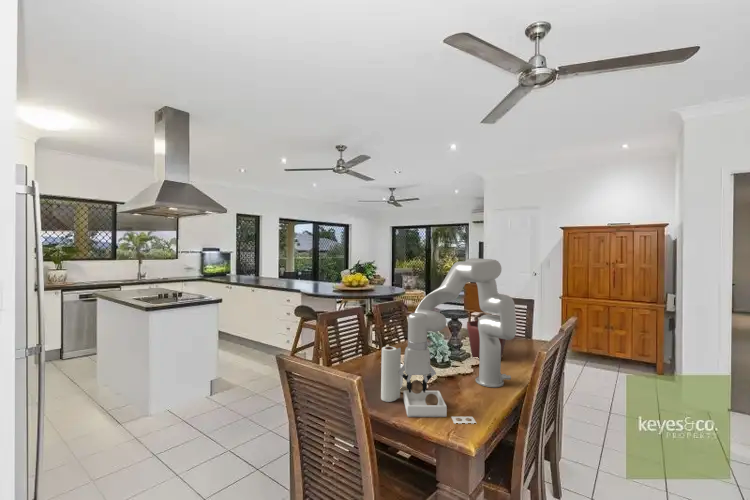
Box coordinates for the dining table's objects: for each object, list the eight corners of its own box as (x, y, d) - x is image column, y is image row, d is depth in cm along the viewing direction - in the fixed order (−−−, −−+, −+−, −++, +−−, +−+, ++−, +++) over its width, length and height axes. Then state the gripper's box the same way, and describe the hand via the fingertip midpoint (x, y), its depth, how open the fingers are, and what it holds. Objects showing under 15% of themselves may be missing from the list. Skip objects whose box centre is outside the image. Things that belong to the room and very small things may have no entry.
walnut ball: (422, 390, 148) (422, 378, 148) (424, 395, 143) (424, 382, 143) (409, 390, 148) (409, 378, 148) (411, 395, 143) (411, 382, 142)
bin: (438, 400, 153) (439, 390, 153) (446, 417, 138) (446, 406, 138) (403, 400, 153) (403, 390, 152) (407, 416, 138) (407, 406, 138)
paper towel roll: (378, 400, 152) (379, 348, 151) (383, 395, 157) (384, 345, 157) (395, 403, 149) (396, 351, 149) (400, 398, 155) (400, 347, 154)
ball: (436, 403, 148) (436, 391, 148) (439, 409, 143) (439, 396, 143) (424, 403, 148) (424, 391, 148) (426, 409, 143) (426, 396, 143)
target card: (472, 417, 138) (472, 416, 138) (476, 423, 133) (476, 422, 133) (451, 417, 138) (451, 416, 138) (454, 423, 133) (454, 422, 133)
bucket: (465, 349, 227) (466, 308, 227) (502, 351, 224) (503, 310, 224) (469, 362, 203) (470, 316, 202) (511, 364, 200) (512, 318, 199)
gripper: (437, 342, 149) (436, 387, 149) (394, 342, 148) (394, 387, 149) (441, 348, 141) (440, 395, 142) (396, 347, 141) (395, 395, 141)
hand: (416, 390), depth 145 cm, fingers closed on walnut ball, 5 cm apart
